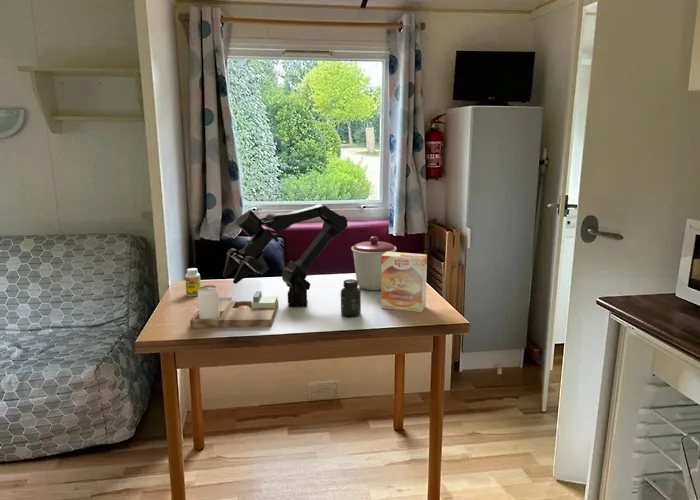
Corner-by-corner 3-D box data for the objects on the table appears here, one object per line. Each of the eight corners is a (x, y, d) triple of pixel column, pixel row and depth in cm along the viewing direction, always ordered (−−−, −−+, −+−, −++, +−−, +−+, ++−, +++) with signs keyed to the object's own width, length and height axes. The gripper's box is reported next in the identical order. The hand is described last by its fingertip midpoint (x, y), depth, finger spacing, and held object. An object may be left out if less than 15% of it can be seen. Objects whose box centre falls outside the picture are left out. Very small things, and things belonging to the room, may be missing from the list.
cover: (277, 300, 188) (277, 290, 187) (274, 307, 180) (274, 297, 180) (255, 300, 188) (254, 290, 187) (251, 308, 180) (251, 297, 180)
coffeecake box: (380, 308, 187) (380, 255, 183) (386, 302, 194) (386, 250, 190) (421, 312, 182) (423, 258, 178) (426, 306, 189) (427, 253, 185)
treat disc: (250, 310, 187) (250, 305, 186) (249, 313, 183) (248, 309, 182) (239, 310, 187) (239, 305, 186) (237, 314, 183) (237, 309, 182)
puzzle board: (278, 307, 189) (278, 300, 189) (271, 326, 170) (270, 319, 169) (206, 308, 189) (205, 301, 188) (190, 327, 169) (190, 320, 169)
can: (214, 326, 171) (212, 290, 168) (196, 325, 172) (193, 289, 169) (223, 319, 177) (221, 285, 174) (205, 318, 178) (203, 284, 176)
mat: (231, 298, 200) (231, 297, 200) (226, 306, 190) (226, 305, 190) (205, 298, 200) (205, 297, 200) (198, 307, 190) (198, 306, 190)
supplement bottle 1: (183, 295, 204) (181, 270, 201) (191, 291, 209) (190, 267, 207) (196, 297, 202) (194, 271, 200) (204, 293, 207) (202, 267, 205)
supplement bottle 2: (337, 313, 183) (337, 279, 180) (355, 310, 185) (355, 277, 183) (345, 319, 176) (345, 284, 174) (364, 316, 179) (364, 282, 177)
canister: (354, 280, 223) (354, 231, 219) (397, 281, 221) (397, 232, 216) (348, 293, 206) (348, 240, 201) (394, 294, 203) (395, 241, 199)
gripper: (286, 263, 176) (256, 300, 172) (262, 253, 191) (235, 287, 187) (263, 242, 170) (232, 281, 166) (240, 234, 185) (212, 269, 181)
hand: (228, 280), depth 175 cm, fingers open, 9 cm apart
